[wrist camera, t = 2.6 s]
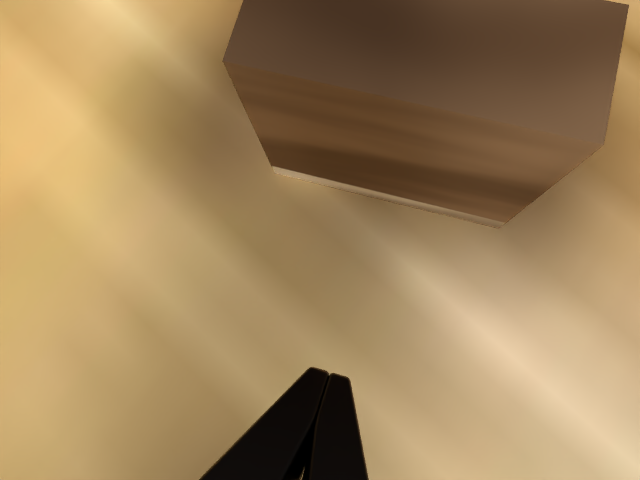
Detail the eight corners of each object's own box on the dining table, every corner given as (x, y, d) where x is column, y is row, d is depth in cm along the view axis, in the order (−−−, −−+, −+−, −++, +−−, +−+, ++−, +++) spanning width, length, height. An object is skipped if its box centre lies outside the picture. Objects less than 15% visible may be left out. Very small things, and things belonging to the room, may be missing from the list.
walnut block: (498, 228, 21) (603, 144, 12) (275, 173, 22) (222, 60, 13) (517, 142, 22) (628, 5, 13) (299, 94, 23) (265, -63, 14)
